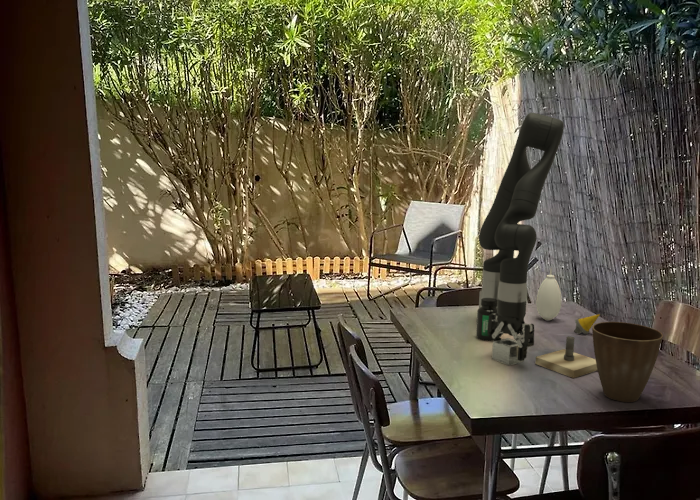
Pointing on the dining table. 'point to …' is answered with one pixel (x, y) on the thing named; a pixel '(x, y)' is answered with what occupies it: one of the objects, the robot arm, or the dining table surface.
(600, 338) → the plant pot
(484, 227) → the robot arm
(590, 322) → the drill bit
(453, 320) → the dining table surface
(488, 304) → the supplement bottle
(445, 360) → the dining table surface
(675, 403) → the dining table surface
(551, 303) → the white vase
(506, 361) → the collar
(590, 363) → the post block
